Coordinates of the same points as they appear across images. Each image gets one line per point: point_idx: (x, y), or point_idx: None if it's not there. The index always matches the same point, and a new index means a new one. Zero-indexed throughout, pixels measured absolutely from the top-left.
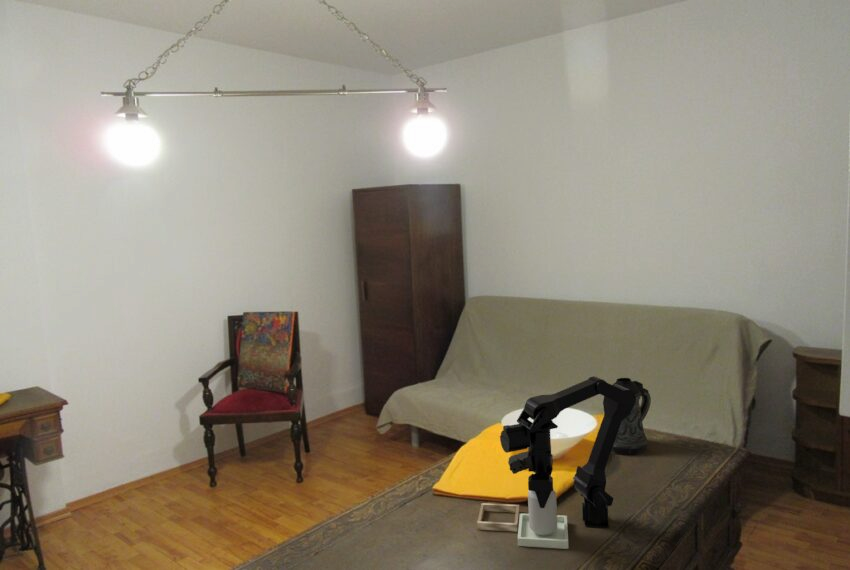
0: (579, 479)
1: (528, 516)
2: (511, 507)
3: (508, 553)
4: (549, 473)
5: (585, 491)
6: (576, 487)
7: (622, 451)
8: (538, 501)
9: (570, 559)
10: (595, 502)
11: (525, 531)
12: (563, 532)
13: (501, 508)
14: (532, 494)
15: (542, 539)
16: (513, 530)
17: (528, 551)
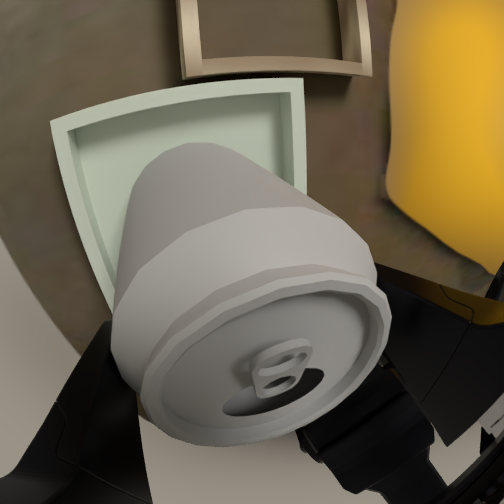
0: (380, 428)
1: (289, 120)
2: (356, 43)
3: (5, 105)
4: (435, 414)
5: (317, 436)
6: (372, 382)
7: (494, 289)
8: (76, 369)
9: (68, 321)
10: None
11: (173, 121)
12: None
13: (347, 4)
14: (159, 313)
15: (83, 237)
16: (181, 61)
17: (40, 177)
